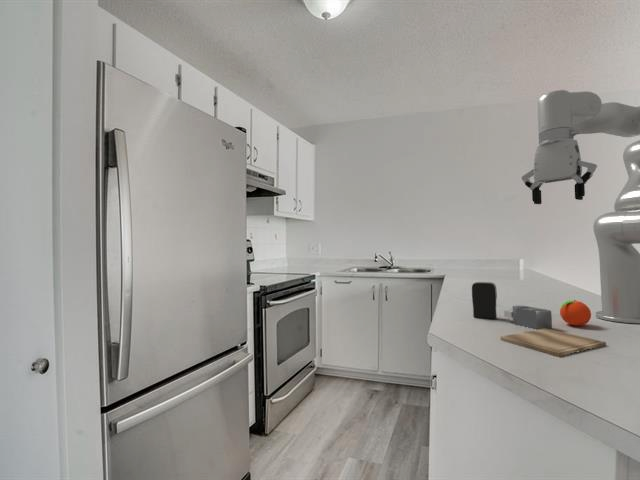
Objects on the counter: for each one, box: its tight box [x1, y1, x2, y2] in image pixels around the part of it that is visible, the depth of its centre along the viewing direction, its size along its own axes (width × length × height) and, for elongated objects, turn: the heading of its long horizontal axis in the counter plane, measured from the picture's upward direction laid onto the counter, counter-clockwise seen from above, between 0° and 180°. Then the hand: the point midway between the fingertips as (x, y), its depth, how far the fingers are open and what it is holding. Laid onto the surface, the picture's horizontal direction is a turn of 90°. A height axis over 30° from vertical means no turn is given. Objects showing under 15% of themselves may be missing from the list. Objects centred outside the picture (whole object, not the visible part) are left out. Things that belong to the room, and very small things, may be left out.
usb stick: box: [503, 305, 553, 330], centre depth 95 cm, size 13×4×5 cm, turn 21°
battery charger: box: [471, 281, 498, 320], centre depth 106 cm, size 7×4×11 cm, turn 53°
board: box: [500, 328, 607, 357], centre depth 79 cm, size 16×14×1 cm
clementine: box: [559, 299, 592, 327], centre depth 92 cm, size 8×7×7 cm
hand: (557, 201), depth 90 cm, fingers open, 9 cm apart
